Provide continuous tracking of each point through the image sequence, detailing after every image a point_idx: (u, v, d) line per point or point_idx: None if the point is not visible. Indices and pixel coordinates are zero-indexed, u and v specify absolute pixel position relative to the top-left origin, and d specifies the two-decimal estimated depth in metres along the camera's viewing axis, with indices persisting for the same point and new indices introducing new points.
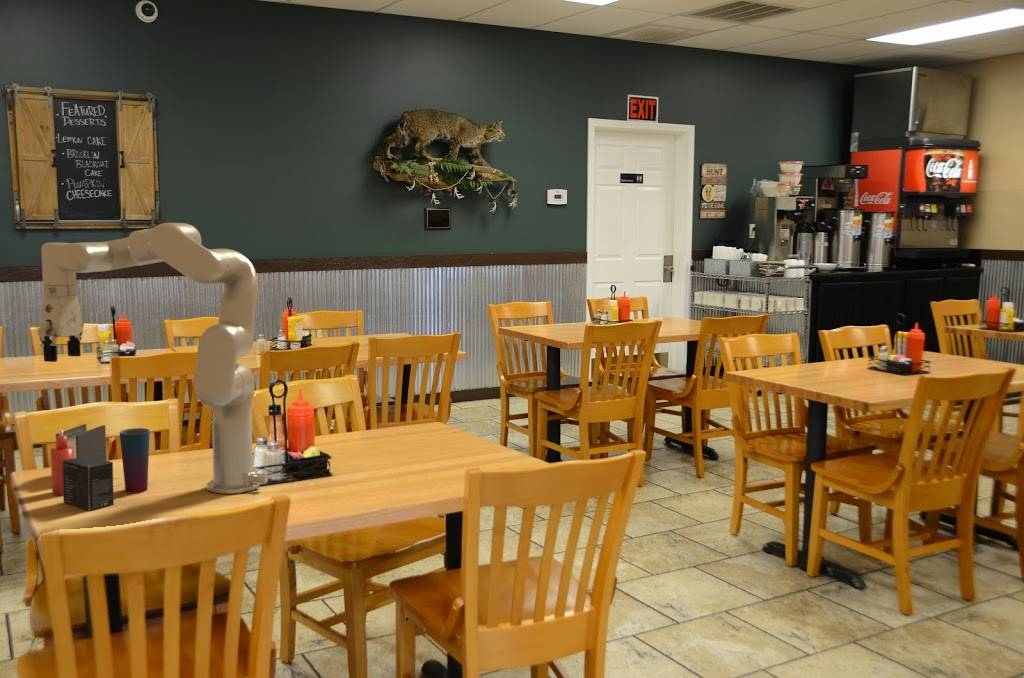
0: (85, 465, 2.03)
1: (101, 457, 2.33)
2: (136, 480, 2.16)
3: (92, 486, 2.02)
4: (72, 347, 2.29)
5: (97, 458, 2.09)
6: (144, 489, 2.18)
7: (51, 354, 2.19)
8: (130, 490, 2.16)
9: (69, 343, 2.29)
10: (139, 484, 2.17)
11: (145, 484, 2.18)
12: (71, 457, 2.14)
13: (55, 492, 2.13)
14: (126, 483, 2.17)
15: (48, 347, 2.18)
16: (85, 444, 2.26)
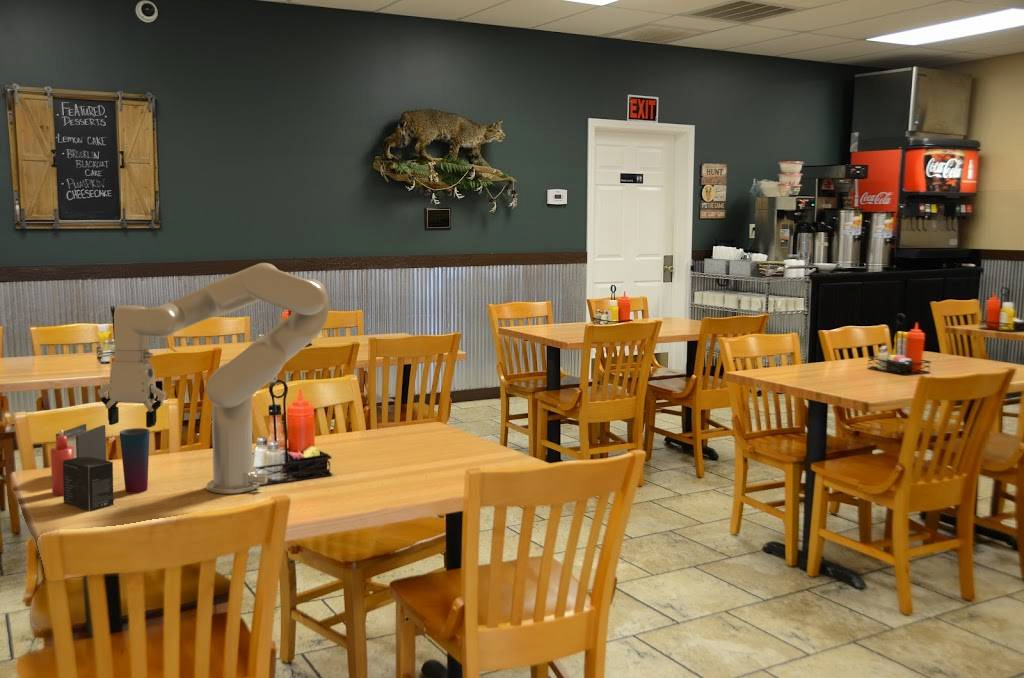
0: (85, 465, 2.03)
1: (101, 457, 2.33)
2: (136, 480, 2.16)
3: (92, 486, 2.02)
4: (114, 414, 2.17)
5: (97, 458, 2.09)
6: (144, 489, 2.18)
7: None
8: (130, 490, 2.16)
9: (113, 411, 2.16)
10: (139, 484, 2.17)
11: (145, 484, 2.18)
12: (71, 457, 2.14)
13: (55, 492, 2.13)
14: (126, 483, 2.17)
15: (155, 411, 2.16)
16: (85, 444, 2.26)
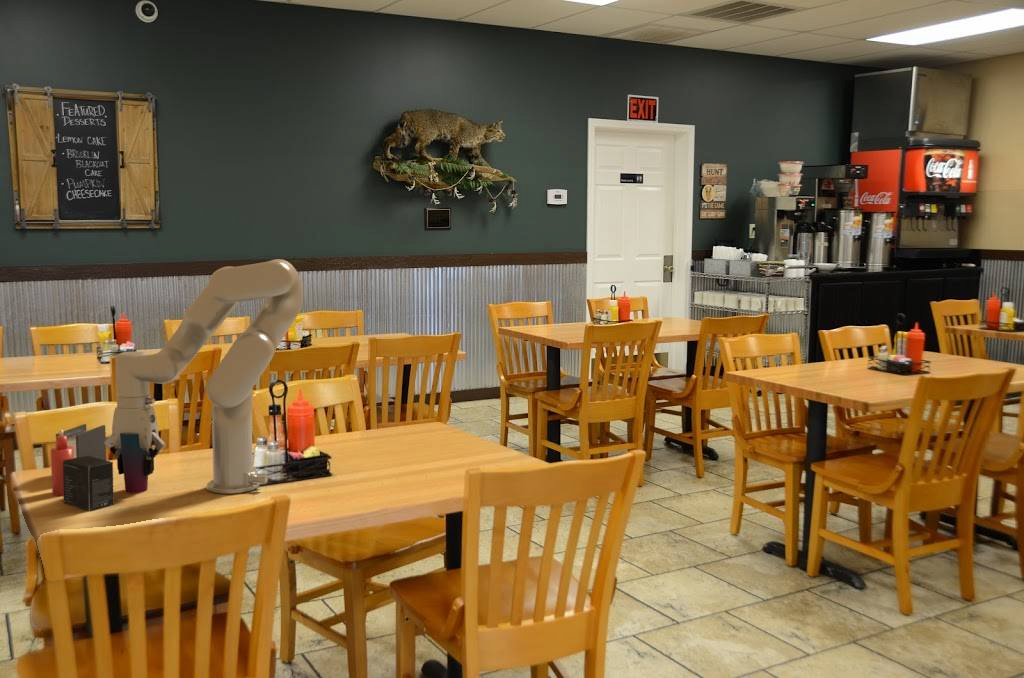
0: (85, 465, 2.03)
1: (101, 457, 2.33)
2: (136, 480, 2.16)
3: (92, 486, 2.02)
4: None
5: (97, 458, 2.09)
6: (144, 489, 2.18)
7: None
8: (130, 490, 2.16)
9: None
10: (139, 484, 2.17)
11: (145, 484, 2.18)
12: (71, 457, 2.14)
13: (55, 492, 2.13)
14: (126, 483, 2.17)
15: (152, 460, 2.18)
16: (85, 444, 2.26)
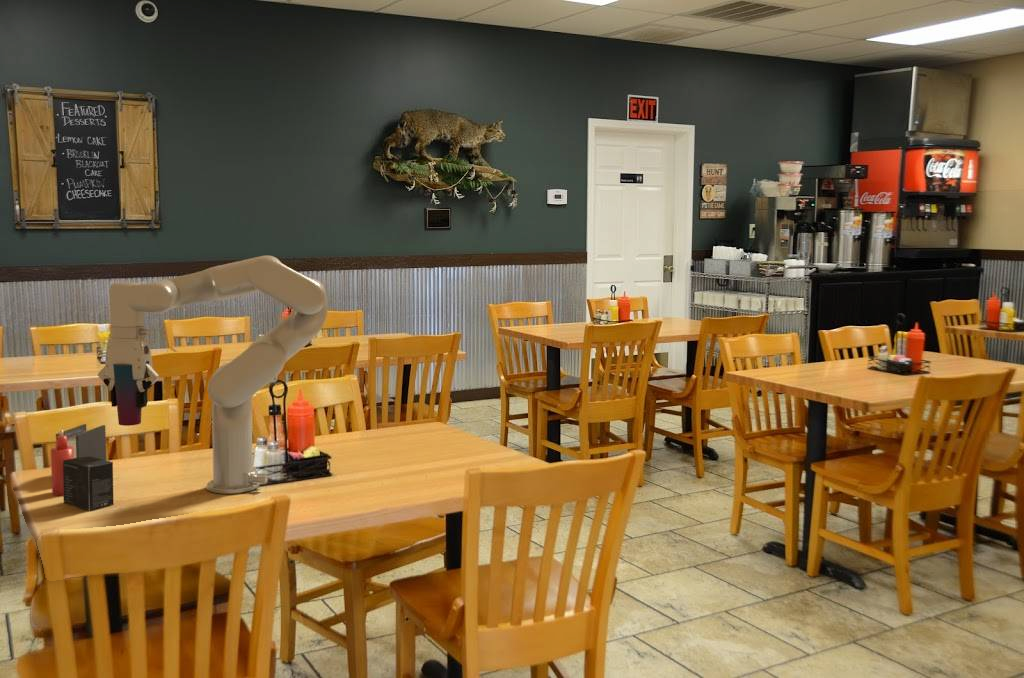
0: (85, 465, 2.03)
1: (101, 457, 2.33)
2: (129, 412, 2.13)
3: (92, 486, 2.02)
4: None
5: (97, 458, 2.09)
6: (137, 422, 2.15)
7: None
8: (123, 422, 2.13)
9: (115, 393, 2.14)
10: (132, 416, 2.14)
11: (138, 417, 2.15)
12: (71, 457, 2.14)
13: (55, 492, 2.13)
14: (119, 415, 2.13)
15: (146, 392, 2.15)
16: (85, 444, 2.26)
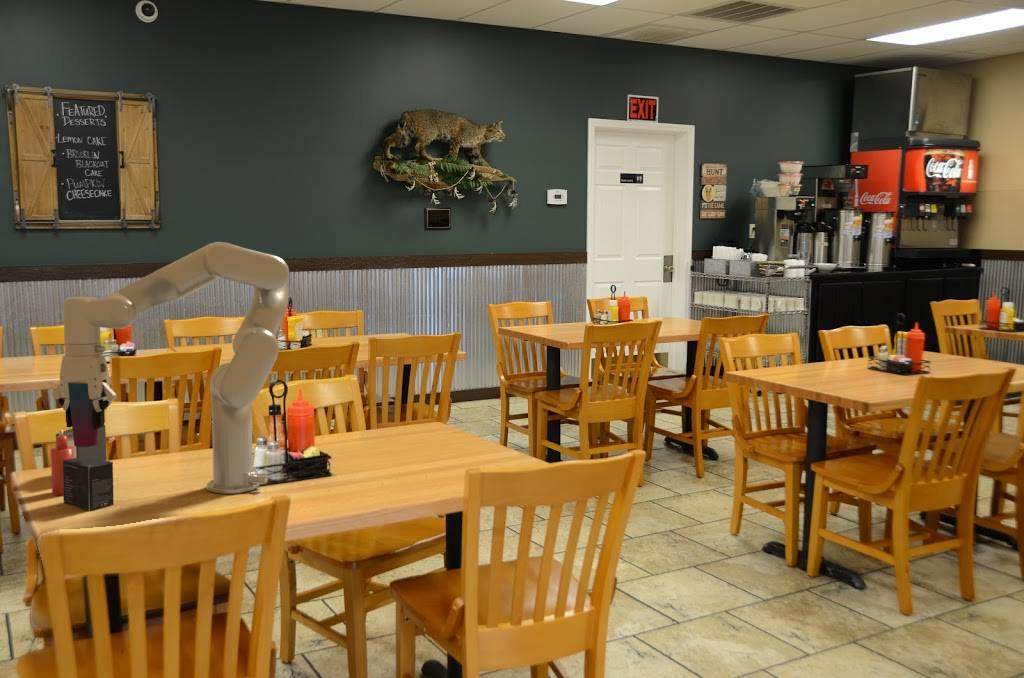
0: (85, 465, 2.03)
1: (101, 457, 2.33)
2: (85, 433, 2.03)
3: (92, 486, 2.02)
4: None
5: (97, 458, 2.09)
6: (94, 443, 2.05)
7: None
8: (79, 444, 2.03)
9: (70, 413, 2.04)
10: (88, 437, 2.04)
11: (95, 438, 2.05)
12: (71, 457, 2.14)
13: (55, 492, 2.13)
14: (74, 436, 2.03)
15: (103, 412, 2.05)
16: None
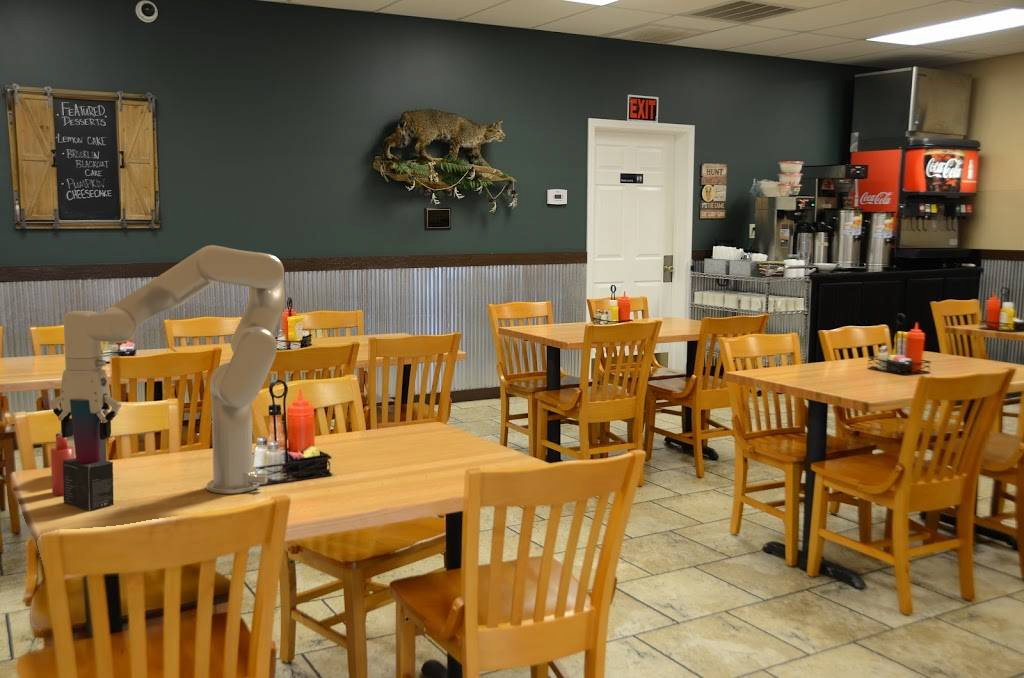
0: (85, 465, 2.03)
1: (101, 457, 2.33)
2: (87, 449, 2.04)
3: (92, 486, 2.02)
4: (68, 427, 2.06)
5: None
6: (96, 459, 2.06)
7: None
8: (81, 460, 2.04)
9: (66, 423, 2.05)
10: (90, 454, 2.04)
11: (97, 454, 2.06)
12: (71, 457, 2.14)
13: (55, 492, 2.13)
14: (77, 453, 2.04)
15: (109, 423, 2.05)
16: None
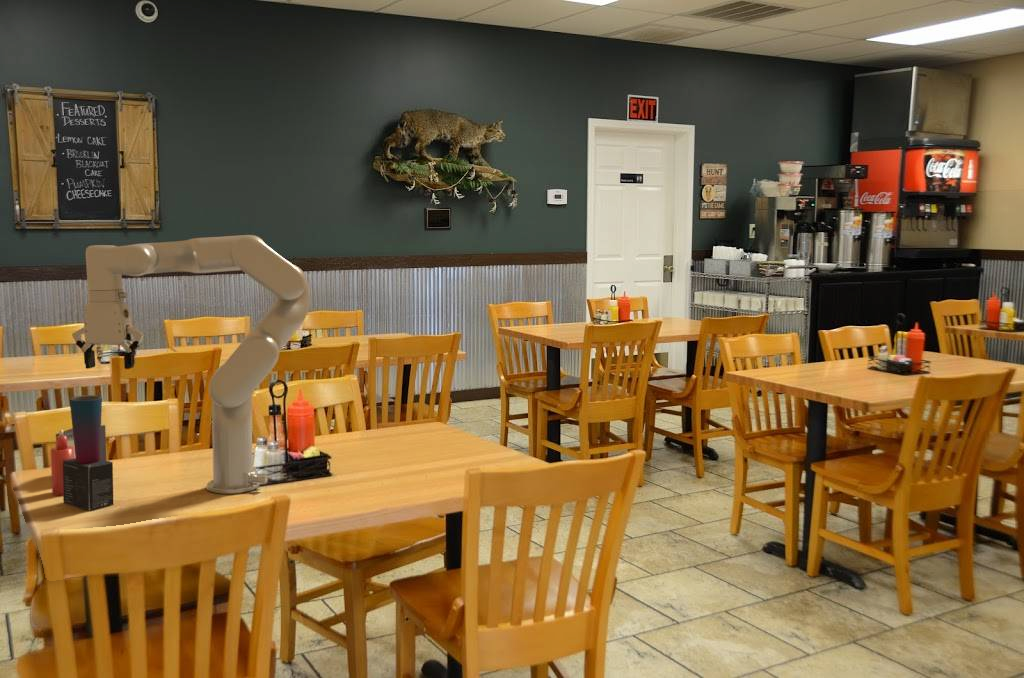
0: (85, 465, 2.03)
1: (101, 457, 2.33)
2: (87, 450, 2.04)
3: (92, 486, 2.02)
4: (91, 358, 2.12)
5: None
6: (96, 459, 2.06)
7: None
8: (81, 460, 2.04)
9: (89, 354, 2.12)
10: (90, 454, 2.04)
11: (97, 454, 2.06)
12: (71, 457, 2.14)
13: (55, 492, 2.13)
14: (76, 453, 2.04)
15: (133, 353, 2.12)
16: None
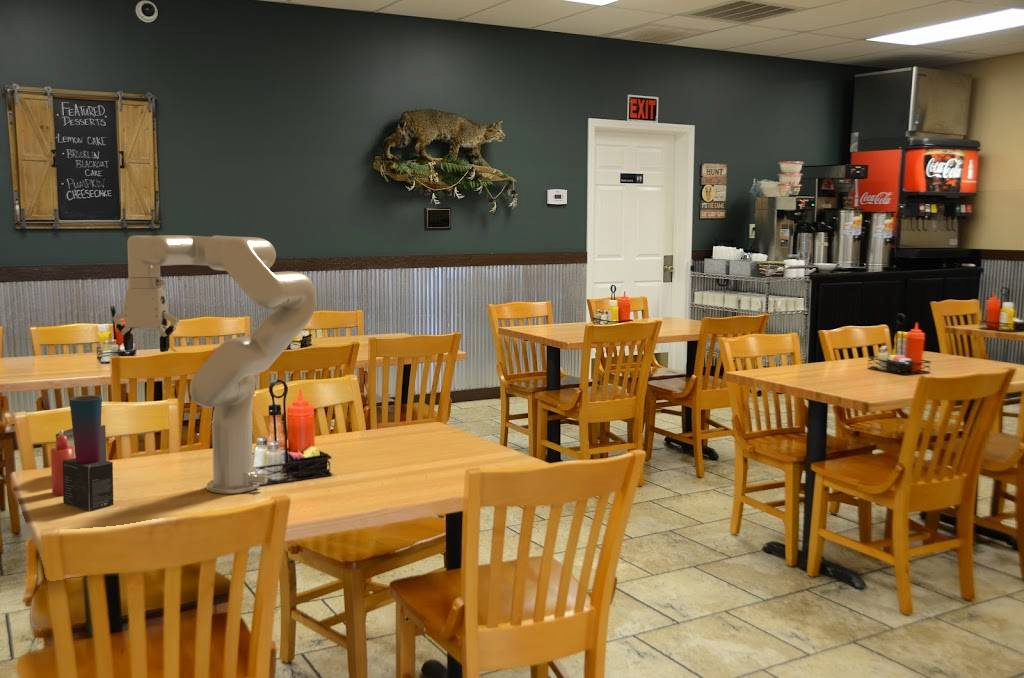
0: (85, 465, 2.03)
1: (101, 457, 2.33)
2: (87, 450, 2.04)
3: (92, 486, 2.02)
4: (129, 341, 2.27)
5: None
6: (96, 459, 2.06)
7: None
8: (81, 460, 2.04)
9: (128, 337, 2.26)
10: (90, 454, 2.04)
11: (97, 454, 2.06)
12: (71, 457, 2.14)
13: (55, 492, 2.13)
14: (76, 453, 2.04)
15: (168, 337, 2.26)
16: None
